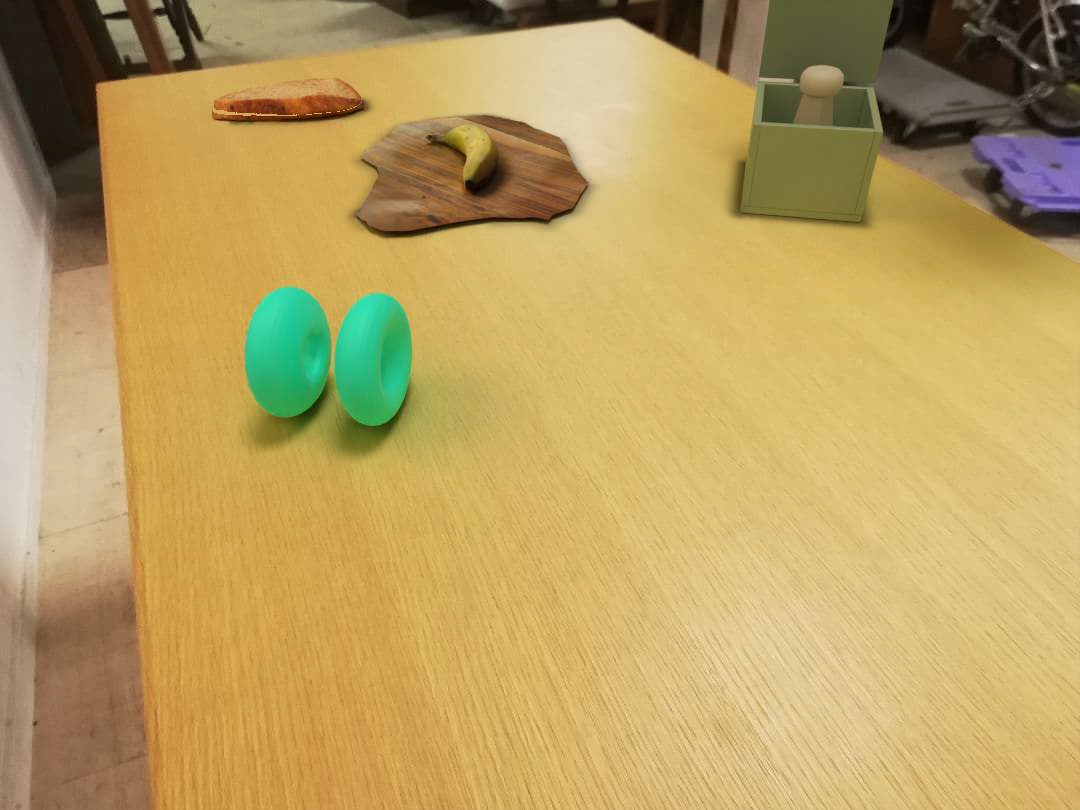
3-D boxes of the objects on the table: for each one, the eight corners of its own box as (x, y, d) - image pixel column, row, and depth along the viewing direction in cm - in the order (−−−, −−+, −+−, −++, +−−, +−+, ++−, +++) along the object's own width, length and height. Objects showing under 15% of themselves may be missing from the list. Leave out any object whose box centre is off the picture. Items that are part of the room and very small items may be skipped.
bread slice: (203, 114, 115) (195, 88, 112) (305, 82, 125) (300, 57, 122) (271, 144, 105) (264, 116, 103) (376, 106, 115) (372, 80, 113)
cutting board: (608, 217, 86) (609, 184, 84) (357, 247, 83) (351, 214, 80) (544, 109, 113) (543, 81, 110) (352, 128, 109) (347, 100, 107)
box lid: (908, -69, 79) (902, -71, 83) (779, -70, 81) (779, -72, 86) (875, 83, 87) (870, 74, 91) (758, 77, 89) (759, 68, 94)
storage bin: (860, 222, 84) (883, 131, 77) (740, 212, 86) (753, 124, 80) (853, 170, 94) (873, 86, 87) (746, 163, 96) (758, 80, 90)
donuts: (385, 455, 58) (361, 345, 52) (259, 442, 60) (221, 334, 53) (423, 373, 66) (406, 269, 59) (310, 364, 67) (282, 261, 61)
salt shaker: (828, 179, 90) (853, 61, 82) (828, 201, 86) (855, 79, 78) (775, 175, 91) (795, 58, 83) (773, 196, 87) (794, 75, 79)
